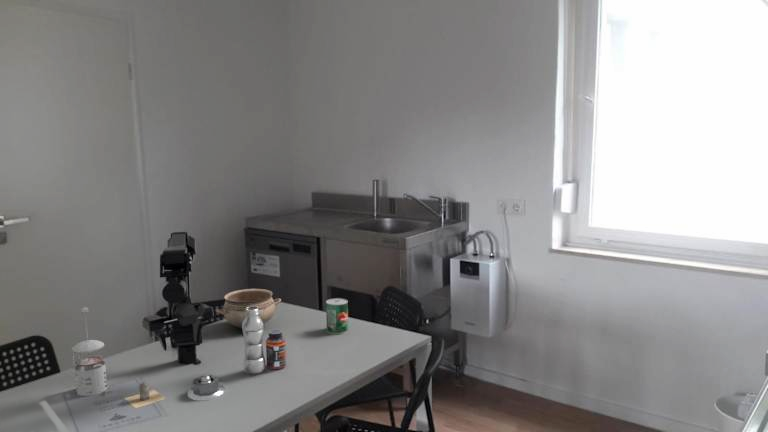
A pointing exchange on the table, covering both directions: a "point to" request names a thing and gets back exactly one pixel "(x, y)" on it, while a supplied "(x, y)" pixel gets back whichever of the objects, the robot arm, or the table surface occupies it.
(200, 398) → the disc
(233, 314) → the cooking pot
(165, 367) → the table surface
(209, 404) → the table surface
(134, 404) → the stand
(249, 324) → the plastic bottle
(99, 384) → the french press
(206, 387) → the collar
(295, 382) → the table surface
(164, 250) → the robot arm
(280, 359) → the supplement bottle
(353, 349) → the table surface
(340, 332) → the canned tomato
